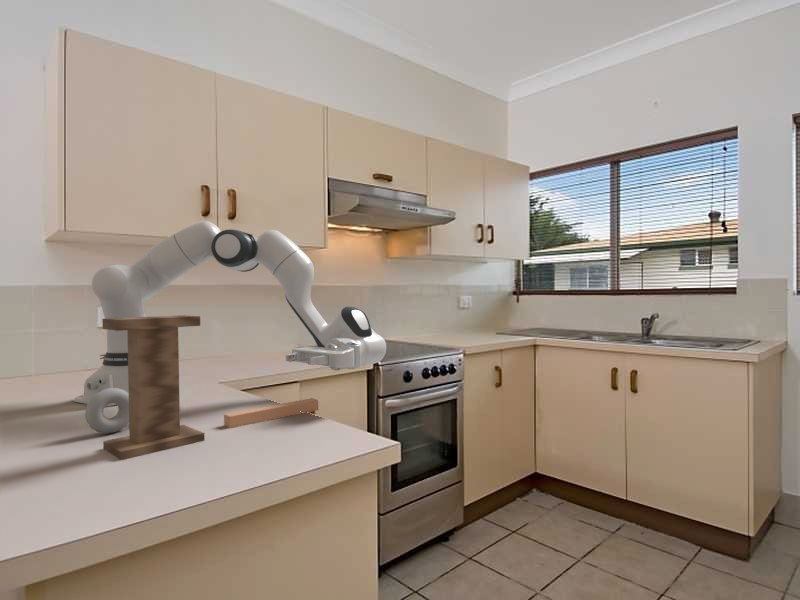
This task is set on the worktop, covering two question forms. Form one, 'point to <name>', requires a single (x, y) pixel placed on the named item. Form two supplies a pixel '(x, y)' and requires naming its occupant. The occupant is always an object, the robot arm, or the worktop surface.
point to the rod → (269, 412)
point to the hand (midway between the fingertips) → (297, 359)
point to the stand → (152, 386)
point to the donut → (97, 407)
